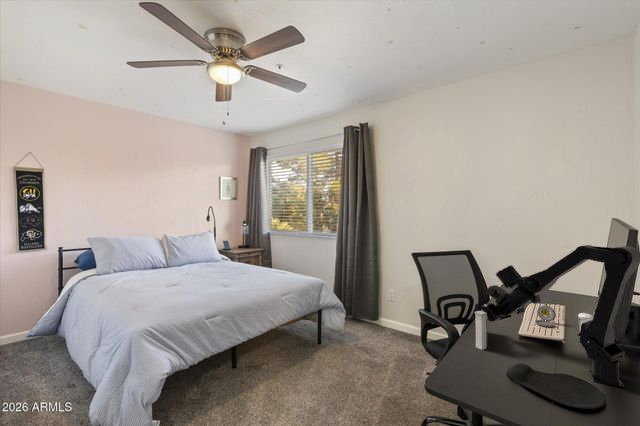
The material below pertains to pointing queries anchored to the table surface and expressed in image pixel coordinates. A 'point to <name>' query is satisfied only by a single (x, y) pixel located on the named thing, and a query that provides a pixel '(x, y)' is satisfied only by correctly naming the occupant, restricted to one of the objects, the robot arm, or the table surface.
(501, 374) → the table surface
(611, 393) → the table surface
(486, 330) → the gate
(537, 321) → the pocket watch
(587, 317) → the milkshake
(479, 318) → the gate post
